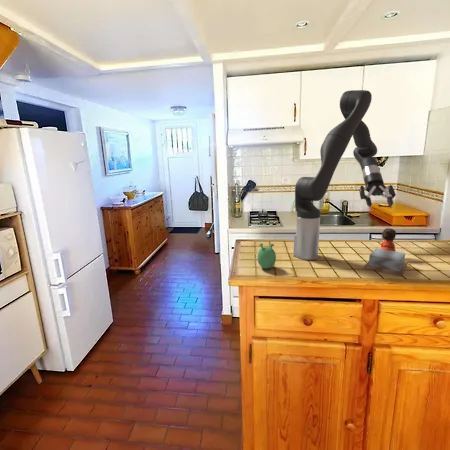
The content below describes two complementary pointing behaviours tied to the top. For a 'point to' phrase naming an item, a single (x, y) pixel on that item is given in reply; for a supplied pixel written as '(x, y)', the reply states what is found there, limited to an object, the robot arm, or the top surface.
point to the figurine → (388, 239)
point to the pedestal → (387, 262)
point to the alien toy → (266, 256)
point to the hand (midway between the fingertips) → (380, 205)
